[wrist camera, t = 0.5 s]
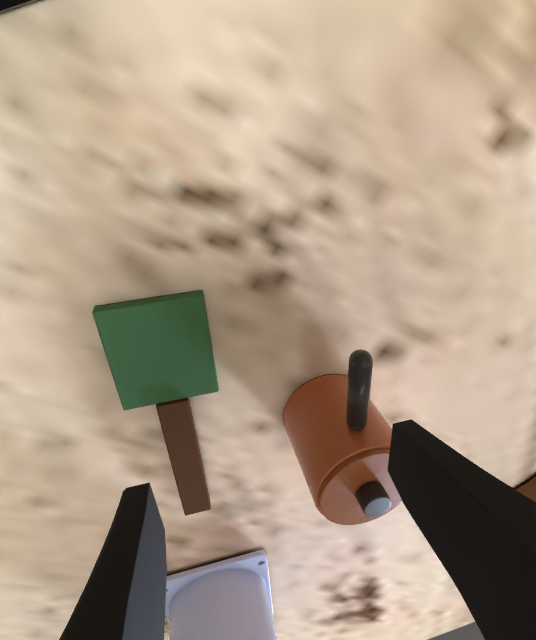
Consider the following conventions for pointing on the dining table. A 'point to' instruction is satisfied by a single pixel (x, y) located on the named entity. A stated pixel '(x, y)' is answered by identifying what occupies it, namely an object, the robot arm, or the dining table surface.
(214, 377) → the spatula
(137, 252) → the dining table surface
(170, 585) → the robot arm
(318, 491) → the pot
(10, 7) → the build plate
